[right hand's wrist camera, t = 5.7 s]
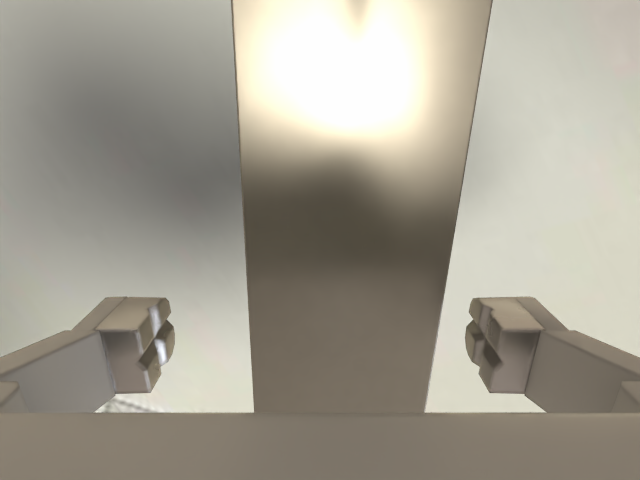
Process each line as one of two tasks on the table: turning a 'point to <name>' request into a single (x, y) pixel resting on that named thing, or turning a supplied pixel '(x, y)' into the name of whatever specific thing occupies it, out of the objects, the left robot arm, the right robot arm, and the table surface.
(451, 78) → the bar
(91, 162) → the table surface
